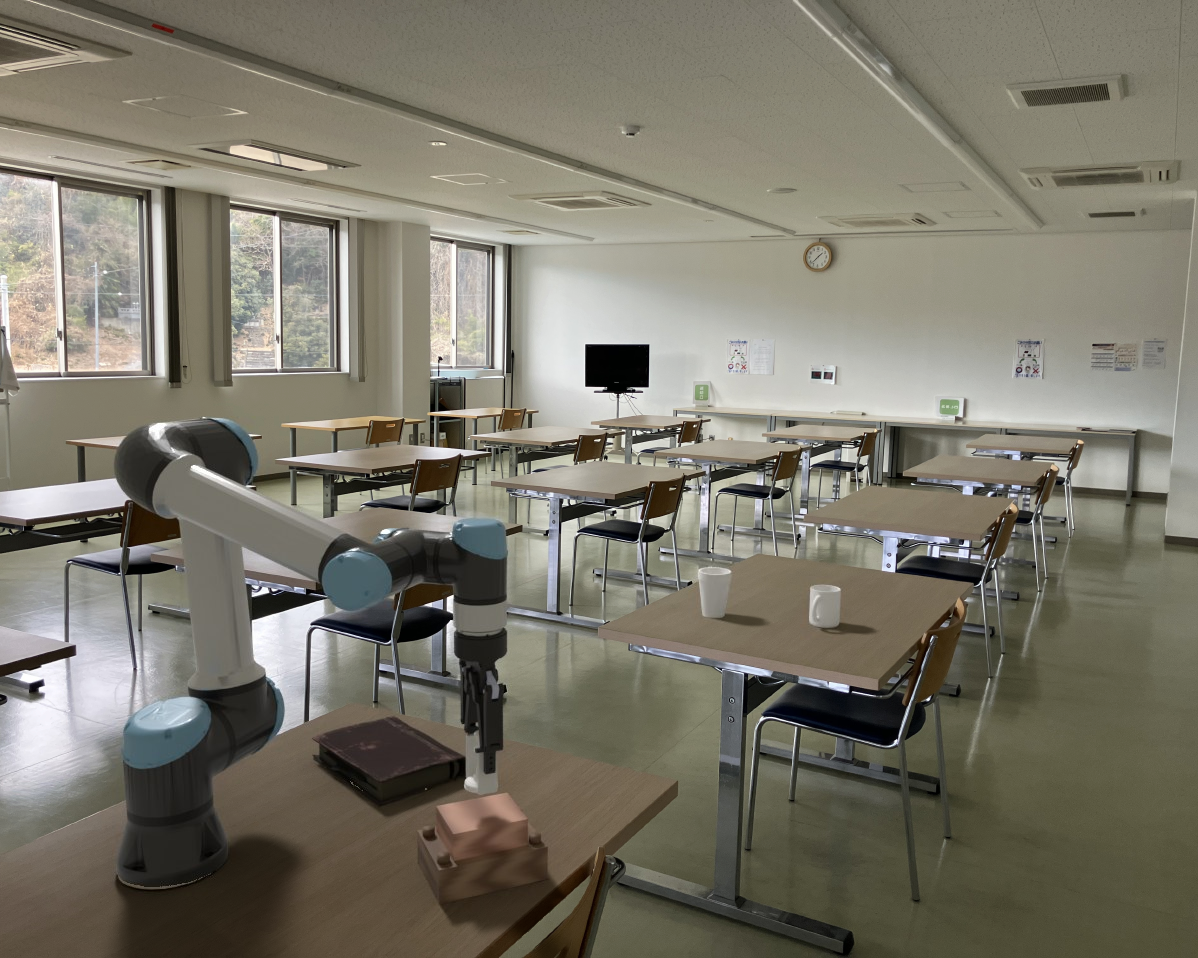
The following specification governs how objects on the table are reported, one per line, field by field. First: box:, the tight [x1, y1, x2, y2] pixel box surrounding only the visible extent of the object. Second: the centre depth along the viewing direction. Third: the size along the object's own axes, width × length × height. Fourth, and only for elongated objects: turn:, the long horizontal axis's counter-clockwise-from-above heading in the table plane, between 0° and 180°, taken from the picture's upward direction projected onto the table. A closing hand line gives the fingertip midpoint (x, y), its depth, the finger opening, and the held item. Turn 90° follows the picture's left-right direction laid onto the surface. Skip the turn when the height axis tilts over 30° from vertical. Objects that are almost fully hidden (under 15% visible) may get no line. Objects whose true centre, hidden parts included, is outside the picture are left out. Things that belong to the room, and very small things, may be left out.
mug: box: [808, 584, 842, 629], centre depth 267 cm, size 12×8×10 cm
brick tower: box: [416, 792, 549, 905], centre depth 141 cm, size 16×12×9 cm
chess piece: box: [463, 722, 499, 794], centre depth 139 cm, size 5×5×10 cm
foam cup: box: [697, 566, 732, 619], centre depth 277 cm, size 10×9×13 cm
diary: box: [311, 715, 466, 808], centre depth 175 cm, size 19×25×5 cm
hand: (481, 783), depth 139 cm, fingers closed on chess piece, 5 cm apart
